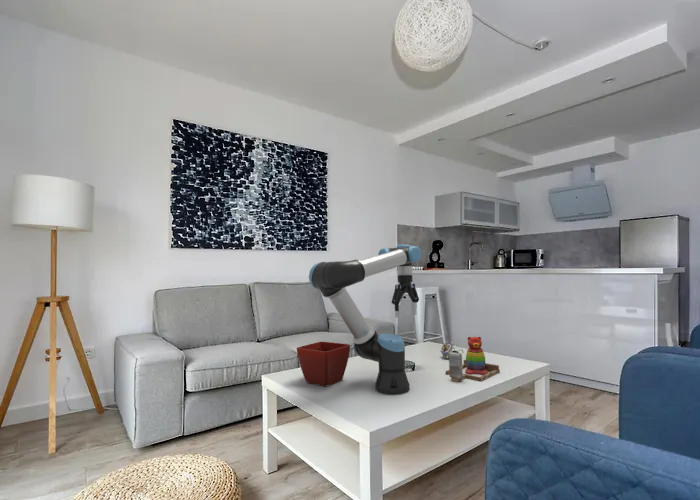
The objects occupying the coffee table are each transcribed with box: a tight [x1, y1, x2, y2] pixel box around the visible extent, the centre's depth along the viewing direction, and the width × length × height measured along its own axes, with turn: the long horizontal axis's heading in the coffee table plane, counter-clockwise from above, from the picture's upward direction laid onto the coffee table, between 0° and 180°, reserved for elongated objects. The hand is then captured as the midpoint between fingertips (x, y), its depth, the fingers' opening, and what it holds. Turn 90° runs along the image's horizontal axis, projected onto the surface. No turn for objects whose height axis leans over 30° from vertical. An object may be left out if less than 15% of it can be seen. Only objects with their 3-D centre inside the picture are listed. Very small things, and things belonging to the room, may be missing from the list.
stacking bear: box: [464, 336, 489, 376], centre depth 188 cm, size 11×10×18 cm
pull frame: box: [445, 352, 501, 383], centre depth 183 cm, size 28×18×12 cm, turn 135°
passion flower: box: [439, 341, 464, 360], centre depth 218 cm, size 11×11×12 cm
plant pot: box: [296, 341, 351, 387], centre depth 180 cm, size 19×19×17 cm
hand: (406, 316), depth 191 cm, fingers open, 13 cm apart
